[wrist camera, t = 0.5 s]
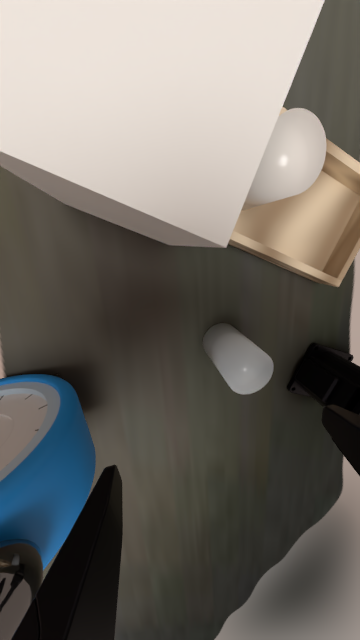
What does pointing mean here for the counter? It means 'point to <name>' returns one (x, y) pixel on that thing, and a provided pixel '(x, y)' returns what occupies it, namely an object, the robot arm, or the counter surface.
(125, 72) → the white l-shaped bracket
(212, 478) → the counter surface
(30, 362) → the counter surface
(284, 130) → the white rounded cylinder
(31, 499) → the alarm clock
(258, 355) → the grey rounded cylinder
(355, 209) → the tray
